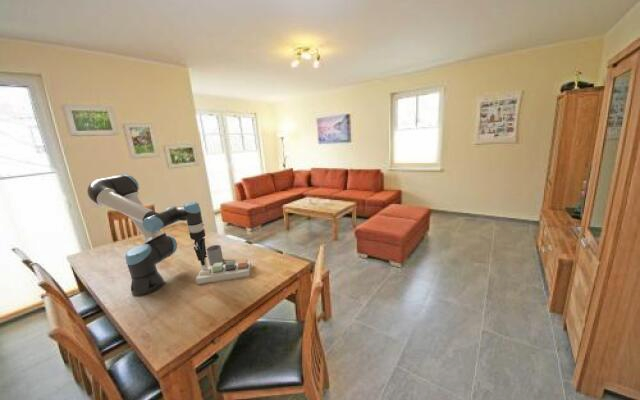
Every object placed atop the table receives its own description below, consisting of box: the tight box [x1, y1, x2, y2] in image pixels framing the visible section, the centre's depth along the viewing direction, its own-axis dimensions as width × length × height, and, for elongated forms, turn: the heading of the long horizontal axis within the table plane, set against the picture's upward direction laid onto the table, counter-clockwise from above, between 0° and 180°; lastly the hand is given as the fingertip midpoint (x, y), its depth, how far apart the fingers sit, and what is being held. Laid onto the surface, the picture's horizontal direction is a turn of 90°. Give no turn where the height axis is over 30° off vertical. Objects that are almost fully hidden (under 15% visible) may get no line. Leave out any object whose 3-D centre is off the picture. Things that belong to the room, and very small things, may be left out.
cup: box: [206, 244, 224, 266], centre depth 160 cm, size 8×8×10 cm
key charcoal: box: [225, 260, 237, 271], centre depth 144 cm, size 5×5×4 cm
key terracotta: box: [237, 258, 249, 269], centre depth 146 cm, size 5×5×4 cm
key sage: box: [212, 261, 224, 273], centre depth 143 cm, size 5×5×4 cm
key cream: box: [199, 266, 211, 275], centre depth 143 cm, size 5×5×4 cm
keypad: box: [195, 260, 252, 285], centre depth 145 cm, size 28×12×4 cm, turn 100°
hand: (205, 269), depth 142 cm, fingers closed
